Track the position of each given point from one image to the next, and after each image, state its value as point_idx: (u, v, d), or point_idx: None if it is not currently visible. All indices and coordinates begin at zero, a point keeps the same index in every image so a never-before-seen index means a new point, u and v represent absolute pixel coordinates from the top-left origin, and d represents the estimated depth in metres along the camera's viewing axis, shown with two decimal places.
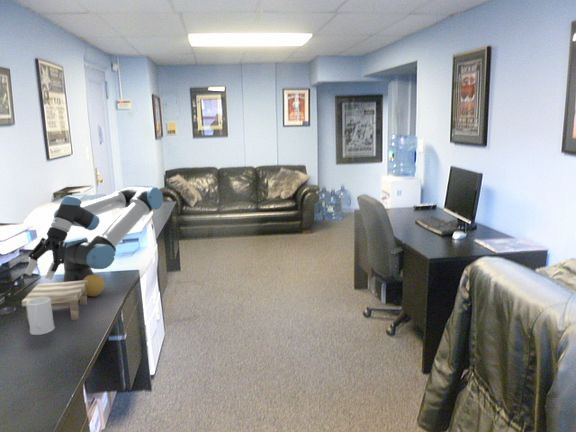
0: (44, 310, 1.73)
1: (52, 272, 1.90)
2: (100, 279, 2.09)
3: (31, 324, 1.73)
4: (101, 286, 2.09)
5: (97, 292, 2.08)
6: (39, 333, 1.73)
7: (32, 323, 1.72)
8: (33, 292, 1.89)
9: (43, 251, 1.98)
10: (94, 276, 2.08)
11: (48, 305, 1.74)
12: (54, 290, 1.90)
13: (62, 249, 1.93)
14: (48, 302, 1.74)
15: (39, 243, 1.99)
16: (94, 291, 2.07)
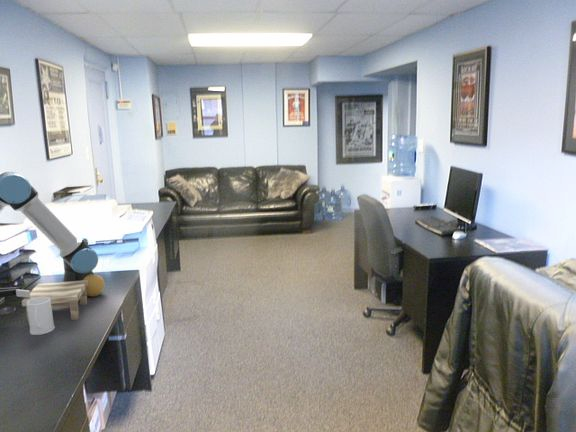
0: (44, 310, 1.73)
1: None
2: (100, 279, 2.09)
3: (31, 324, 1.73)
4: (101, 286, 2.09)
5: (97, 292, 2.08)
6: (39, 333, 1.73)
7: (32, 323, 1.72)
8: (33, 292, 1.89)
9: (2, 293, 1.83)
10: (94, 276, 2.08)
11: (48, 305, 1.74)
12: (54, 290, 1.90)
13: None
14: (48, 302, 1.74)
15: None
16: (94, 291, 2.07)
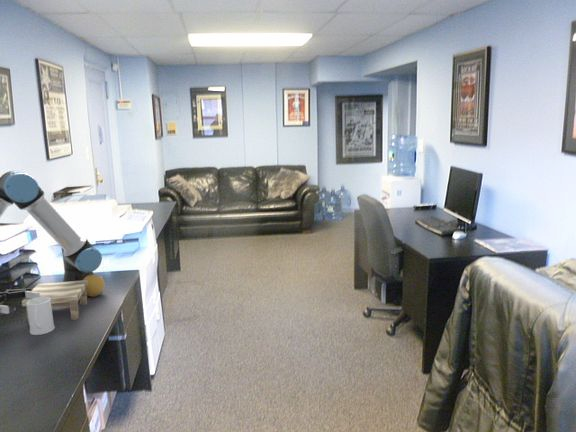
0: (44, 310, 1.73)
1: (1, 308, 1.68)
2: (100, 279, 2.09)
3: (31, 324, 1.73)
4: (101, 286, 2.09)
5: (97, 292, 2.08)
6: (39, 333, 1.73)
7: (32, 323, 1.72)
8: None
9: (11, 295, 1.81)
10: (94, 276, 2.08)
11: (48, 305, 1.74)
12: (54, 290, 1.90)
13: None
14: (48, 302, 1.74)
15: None
16: (94, 291, 2.07)
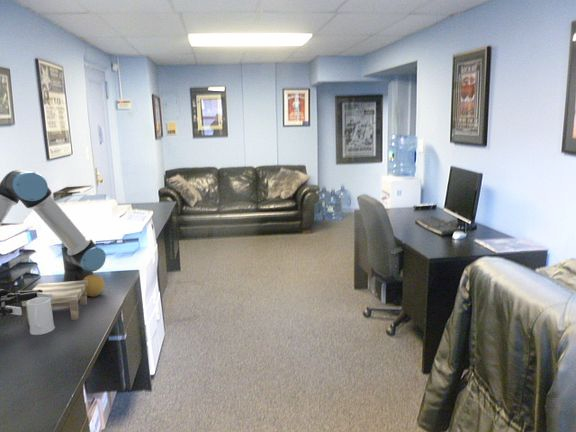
0: (44, 310, 1.73)
1: (13, 310, 1.66)
2: (100, 279, 2.09)
3: (31, 324, 1.73)
4: (101, 286, 2.09)
5: (97, 292, 2.08)
6: (39, 333, 1.73)
7: (32, 323, 1.72)
8: None
9: (23, 296, 1.79)
10: (94, 276, 2.08)
11: (48, 305, 1.74)
12: (54, 290, 1.90)
13: None
14: (48, 302, 1.74)
15: None
16: (94, 291, 2.07)
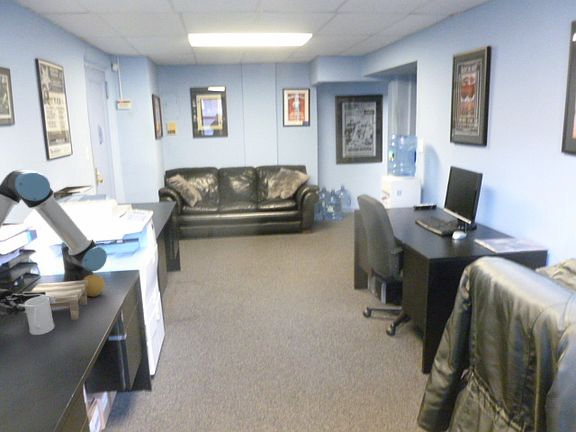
0: (43, 311, 1.72)
1: (26, 308, 1.68)
2: (100, 279, 2.09)
3: (30, 324, 1.72)
4: (101, 286, 2.09)
5: (97, 292, 2.08)
6: (39, 333, 1.73)
7: (31, 323, 1.72)
8: None
9: (26, 298, 1.78)
10: (94, 276, 2.08)
11: (47, 305, 1.73)
12: (54, 290, 1.90)
13: (0, 309, 1.70)
14: (47, 302, 1.73)
15: None
16: (94, 291, 2.07)
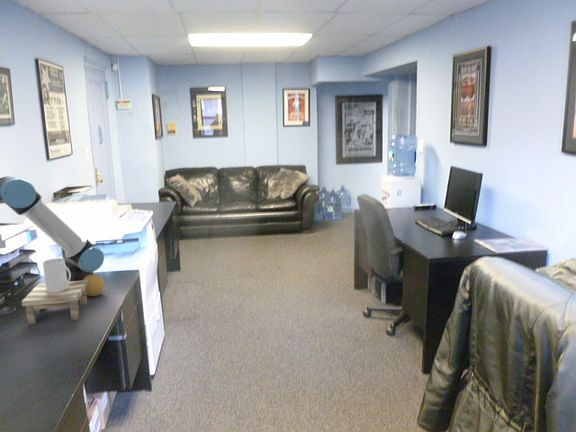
0: None
1: None
2: (100, 279, 2.09)
3: (56, 282, 1.88)
4: (101, 286, 2.09)
5: (97, 292, 2.08)
6: (65, 288, 1.91)
7: (58, 281, 1.88)
8: (33, 292, 1.89)
9: None
10: (94, 276, 2.08)
11: None
12: None
13: None
14: None
15: None
16: (94, 291, 2.07)
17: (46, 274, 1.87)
